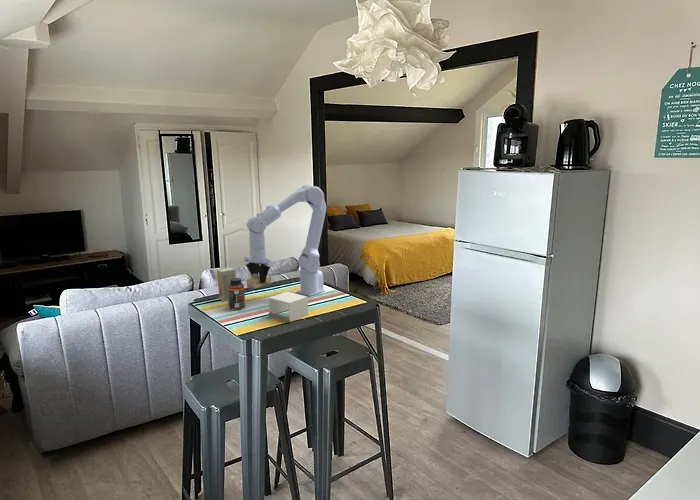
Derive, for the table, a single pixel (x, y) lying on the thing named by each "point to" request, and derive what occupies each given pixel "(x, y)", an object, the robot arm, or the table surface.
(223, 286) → the skincare box
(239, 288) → the supplement bottle
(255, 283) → the beige toy brick
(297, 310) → the open shelf unit
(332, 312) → the table surface
